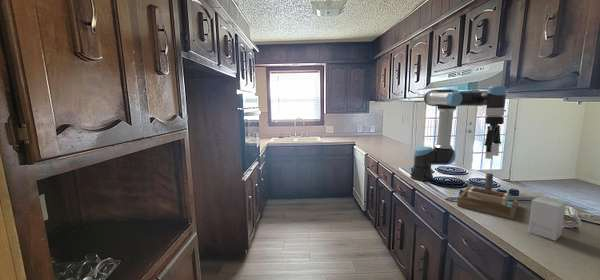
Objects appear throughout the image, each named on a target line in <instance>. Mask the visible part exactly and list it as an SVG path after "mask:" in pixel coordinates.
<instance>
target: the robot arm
mask: <svg viewBox="0 0 600 280" xmlns="http://www.w3.org/2000/svg"><path fill="white" fill-rule="evenodd" d="M506 90H507V87H506V86H505V85H491V86H489V87H487V91H459V90H457V89H450V88H448V89H431V90H427V92H426V93H425V94H424V96H423V102H424V103H425V105H428V106H430V107H437V109H436V110H438V112H439V114H438V124H437V135H436V136H437V137H436V144H435V145H434V146H433V147H431V146H420V147H419V146H418V147H416V148H415V149H414V154H413V156H414V157H413V158H414V159H413V167H412V170H411V173H410V179H412V180H416V181H420V182H430V181H429V180H431V179H434V175H433V171H432V166H433V165H434V166H435V165H436V166H437V165H438V166H441V165H442V166H446V165H452V164H453V163H454V162H455V160H456V151H455V149H453V146H452V145H451V140H452V132H453V131H452V130H453V118H454V112H455V111H456V110H457V107H459V106H461V107H462V106H463V107H464V106H469V107H470V106H472V107H473V106H475V107H476V106H477V107H482V106H486V109H485V110H486V111H485V116H486V117H485V123H484V124H486V125H488V126H487V130H486V131H487V132H486V135H485V137H486V138H485V142H484V144H483V145H484V146H485V159H490V160H492V159H493V156H495V157H498V156H499V152H500V145H501V144H502V141H501V125H503V124H504V121H505V112H506V110H507V109H505V108H506V95H507V91H506Z"/></svg>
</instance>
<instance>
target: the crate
mask: <svg viewBox="0 0 600 280" xmlns="http://www.w3.org/2000/svg"><path fill="white" fill-rule="evenodd" d="M493 180H494V174H493V173H488V172H487V173H485V179H484V188H481V187H475V186H471V187H469V188H470V189H469V190H468V194H467V198H471V199H476V200H481V201H485V202H490V203H494V204H499V205H503V206H506V205H507V201H508V196H509V195H508V194H509V193H507V192H501V191H496V190H492V189H493V188H492V187H493Z"/></svg>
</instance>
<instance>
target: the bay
mask: <svg viewBox="0 0 600 280" xmlns="http://www.w3.org/2000/svg"><path fill="white" fill-rule="evenodd" d="M470 188H471V187H466V188H465V189H464V190H463V191H462V192H461V193H460V195H458V196H457V203H456V205H457V206H456V207H461V208H463V209H464V208H465V209H469V210H474V211H477V212H482V213H485V214H488V215H489V214H490V215H492V216H498V217H501V218H506V219H509V220H515V216H516V212H517V210H518V206H519V197H518V196H514V199H513V201H509V200H507V205H506V206H503V205H499V204H494V203H490V202H485V201H481V200H476V199H471V198H467V194H468V190H469V189H470Z"/></svg>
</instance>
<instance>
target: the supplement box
mask: <svg viewBox="0 0 600 280" xmlns="http://www.w3.org/2000/svg"><path fill="white" fill-rule="evenodd" d="M566 204H567V202H565V201H562V200H557V199H554V198H553V199H552V198H548V197H544V196H537V197H536V198H534V199H532V200H531V205H530V206H531V207H530V215H529V223H528V230H527V231H528V233H530V234H533V235H536V236H539V237H542V238H545V239H547V238H548V239H547V240H551V241H554V242H556V241H557V240H558V239H559V238H560V237H561V236H562V231H563V227H564V218H565V213H566V212H565V211H566Z"/></svg>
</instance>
